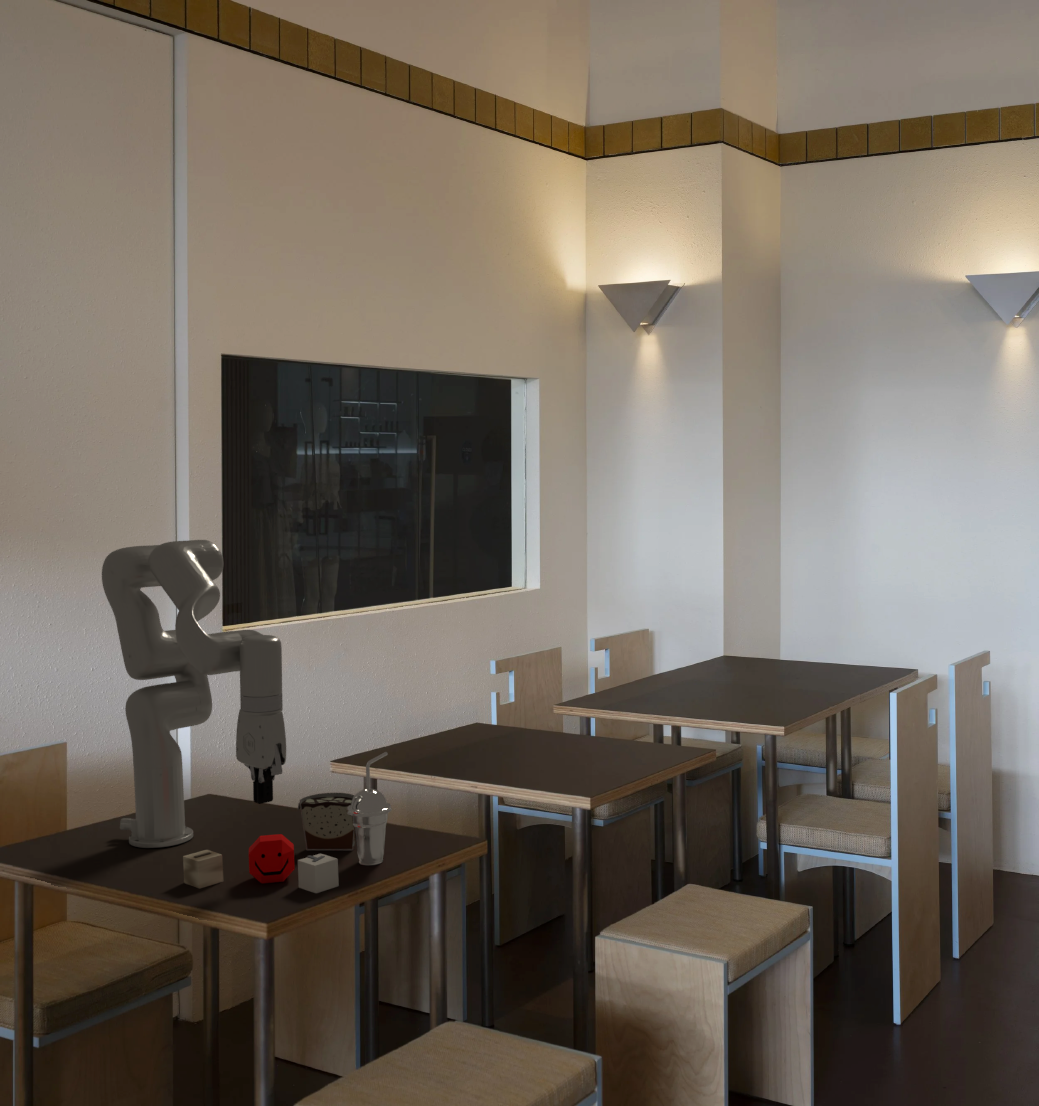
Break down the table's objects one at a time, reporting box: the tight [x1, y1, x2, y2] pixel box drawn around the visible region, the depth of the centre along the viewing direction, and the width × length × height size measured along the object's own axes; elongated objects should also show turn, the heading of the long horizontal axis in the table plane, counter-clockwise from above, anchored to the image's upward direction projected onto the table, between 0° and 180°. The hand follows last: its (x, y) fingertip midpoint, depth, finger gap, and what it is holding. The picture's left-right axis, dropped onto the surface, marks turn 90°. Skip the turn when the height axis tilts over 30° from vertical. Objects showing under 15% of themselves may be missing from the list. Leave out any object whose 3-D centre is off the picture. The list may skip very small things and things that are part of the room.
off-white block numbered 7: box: [297, 853, 340, 894], centre depth 216 cm, size 5×5×5 cm
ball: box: [248, 833, 296, 884], centre depth 221 cm, size 8×8×8 cm
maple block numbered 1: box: [182, 849, 224, 889], centre depth 221 cm, size 5×5×5 cm
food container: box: [297, 792, 356, 851], centre depth 241 cm, size 12×6×10 cm, turn 84°
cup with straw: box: [346, 751, 393, 866], centre depth 229 cm, size 8×9×20 cm
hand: (263, 801), depth 224 cm, fingers closed
